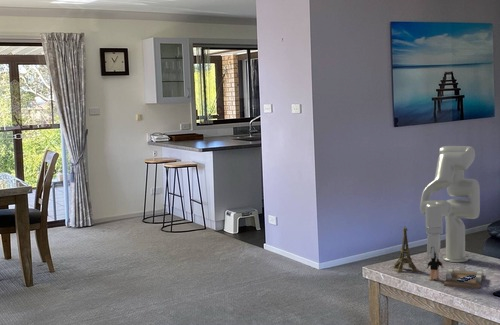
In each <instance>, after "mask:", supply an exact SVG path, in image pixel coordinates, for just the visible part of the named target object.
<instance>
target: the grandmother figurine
mask: <svg viewBox="0 0 500 325" xmlns="http://www.w3.org/2000/svg"><path fill="white" fill-rule="evenodd" d="M434 255H436V254H434ZM438 255H439V254H438ZM438 255H437V259H439V258H438V257H439V256H438ZM434 257H435V256H434ZM437 261H438V260H437ZM438 265H439V267H438V270H431V269H430V270H429V281H434V280H435V281H439V280H440V278H439V275H440V272H439V268H440V267H441V269H444V265H443V263H442V262H441V261H440V260H439V261H438ZM429 267H430V261H429V262H428V263H427V265H426V267H425V268H426V270H427V269H429Z"/></svg>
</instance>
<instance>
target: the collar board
mask: <svg viewBox="0 0 500 325" xmlns="http://www.w3.org/2000/svg"><path fill="white" fill-rule="evenodd" d="M469 275H474V276H476V277H475V278H473V279H470V280H468V281H464V282H459V281H457V280H456V279H459V278H463V277H466V276H469ZM483 277H484V272H483V270H479V269H478V270H477V271H467V270H466V271H463V270H454V268H451V267H449V268H448V269H447V271H446V273H445V281H444V283H443V284H444V285H443V286H444V287H452V288H455V287H456V288H462V289H463V288H465V289H466V288H467V289H477V290H480V288H481V284H482V280H483Z"/></svg>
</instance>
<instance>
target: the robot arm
mask: <svg viewBox="0 0 500 325" xmlns="http://www.w3.org/2000/svg"><path fill="white" fill-rule="evenodd" d="M438 155H439V156H438V158H437V163H436V169H435V175H434V179H433V180H432V181H431V182H429V184H427V185H426V187H425V188H424V189H423V191H422V193H421V197H420V203H419V211H420V214H422V215H424V216H425V234H427V241H426V243H427V244H426V255H427V256H430V261H429V262H430V266H429V267H430V269H431V270H438V267H439V268H440V265H438V261H440V259H439V257H438V259H437V255H438V256H439V254H440V253H441V252H440V251H441V235H443V233H444V232H443V228H444V227H443V225H444V224H443V218H444V220H445V254H444V255H443V256H442V260H444V261H446V262H450V263H465V262H467V261H469V257H468V256H467V255H466V225H465V224H464V221H463V220H462V219H470V220H475V219H478V218H479V217H480V212H481V210H480V208H481V198H480V197H481V190H480V189H481V188H480V183H479V181H478V180H477V179H474V178H465V170H468V169H469V167H470V166H471V165H472V164H473V162H474V161H475V158H476V151H475V148H474V147H473V146H469V145H445V146H443V145H442V146H441V147H439V150H438ZM443 189H446V193H447V195H449V197H453V198H449V199H447V200H442V199H441V200H440V199H439V200H438V199H430V197H431V195H433V194H435V192H438V191H440V190H443ZM454 197H456V198H454ZM459 198H460V199H459ZM461 198H463V199H461ZM464 198H468V199H464ZM434 254H436V255H434ZM434 256H435V257H434ZM437 260H438V261H437Z"/></svg>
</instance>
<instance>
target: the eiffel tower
mask: <svg viewBox="0 0 500 325" xmlns="http://www.w3.org/2000/svg"><path fill="white" fill-rule="evenodd" d="M402 231H403V233H402V234H403V235H402V243H401V248H400V249H399V250H400V254H399V256H398V259H397V260H396V262H395V263H394V265H392V266H391V267H392V269H397V270H396V273H404V271H403V268H404V267H403V266H404V265H405V264H408V265H407V267H408V268H411V271H412V272H414V273H420V271H419V270H418V269H417V267H416V265H415V264H414V262H413V258H412V257H411V255H410V254H411V253H410V252H411V250H410V249H409V242H408V241H409V240H408V233H407V231H408V228H407V227H402ZM405 255H406V256H405Z"/></svg>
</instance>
